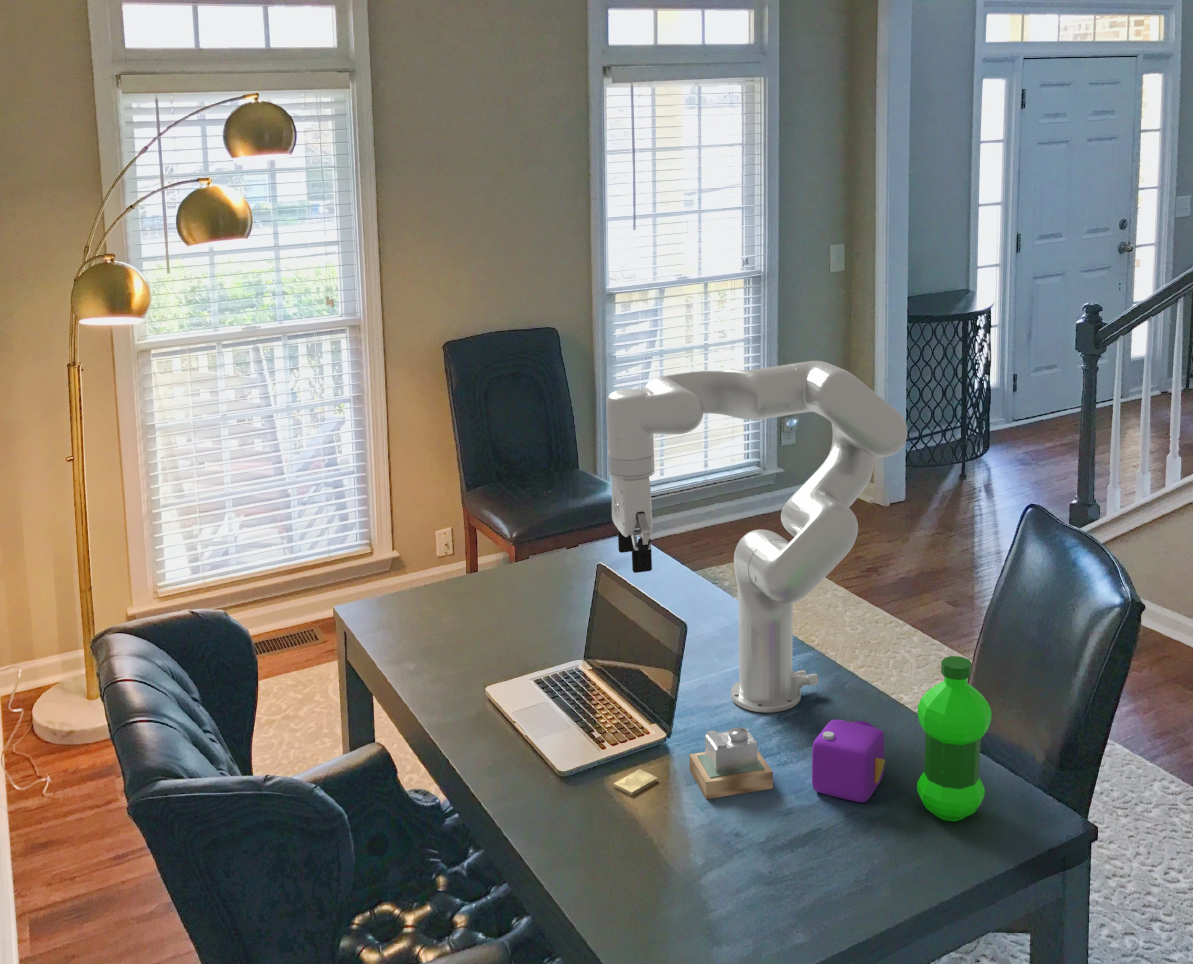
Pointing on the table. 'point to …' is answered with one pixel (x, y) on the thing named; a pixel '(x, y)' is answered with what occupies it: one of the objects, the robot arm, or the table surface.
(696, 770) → the picture frame
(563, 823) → the table surface
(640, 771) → the cover plate
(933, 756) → the plastic bottle
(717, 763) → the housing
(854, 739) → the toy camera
